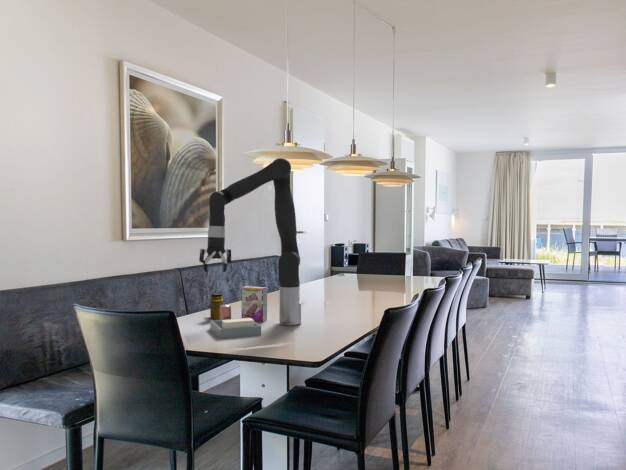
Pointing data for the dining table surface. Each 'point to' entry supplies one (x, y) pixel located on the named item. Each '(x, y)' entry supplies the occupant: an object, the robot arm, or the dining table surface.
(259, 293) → the candy bar box
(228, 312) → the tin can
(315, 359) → the dining table surface
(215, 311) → the condiment
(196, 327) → the dining table surface
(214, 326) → the tote
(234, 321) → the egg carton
